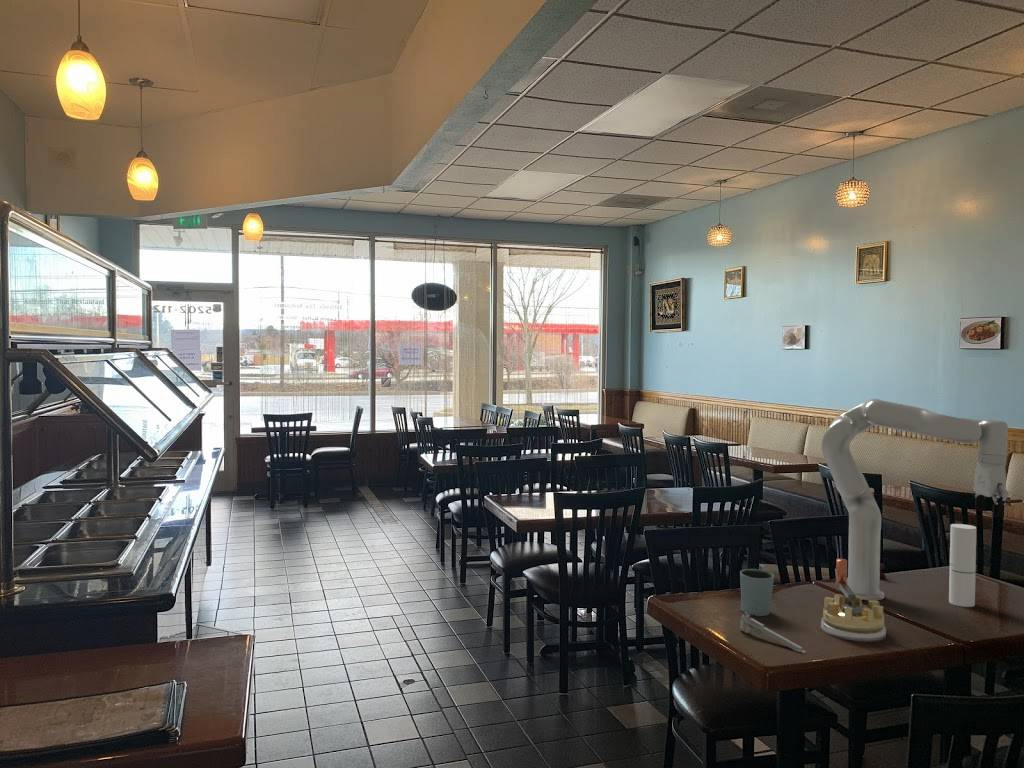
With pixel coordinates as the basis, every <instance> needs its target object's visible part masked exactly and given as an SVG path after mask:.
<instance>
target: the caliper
mask: <svg viewBox="0 0 1024 768" xmlns="http://www.w3.org/2000/svg"><path fill="white" fill-rule="evenodd" d="M750 616H751V615H750V614H747V612H743V614H742V615H741V617H740V620H739V623H740V624H739V628H740V629H739V630H740V632H741V631H743V632H744V631H745V634H746V633H748V634H750V632H751V631H752V630H753V631H754V632H756V633H758V634H759V635H762V634H765V635H766V636H767V637H769V638H772V639H773V640H775V641H777V642H778V643H780V644H782V645H784V646H786V647H787V648H789V649H791V650H792V651H794V652H797V653H801V654H803V655H804V654H806V653H807V652H806V650H804V649H803V647H802V646H800V645H798V644H797V643H794V642H793V641H791V640H789V639H788V638H786V637H784V636H782V635H780V634H778V633H776V632H775V631H773V630H771V629H770V628H768V627H766V626H765V624H763V623H761V622H759V621H758V620H756V619H755V618H752V617H750ZM745 627H746V629H745Z"/></svg>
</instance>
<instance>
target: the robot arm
mask: <svg viewBox="0 0 1024 768" xmlns="http://www.w3.org/2000/svg"><path fill="white" fill-rule="evenodd" d="M875 426H877V427H881V428H887V429H892V430H897V431H900V432H901V431H902V432H905V433H910V434H915V435H919V436H927V437H932V438H938V439H941V440H947V441H951V442H956V443H961V444H965V445H966V444H967V445H971V444H975V443H976V442H978V443H977V444H978V446H977V463H976V467H975V472H974V479H973V480H974V481H973V493H974V497H975V500H974V501H975V502H974V503H975V504H974V510H975V511H977V512H986V511H987V503H988V502H987V501H988V499H987V498H992V500H993V503H992V518H1005V509H1006V508H1005V507H1006V504H1007V500H1008V497H1009V491H1008V490H1007V475H1006V473H1007V472H1006V466H1007V449H1008V426H1009V425H1008V423H1007V422H1005V421H1004V420H1003V421H1002V420H995V419H993V420H991V419H984V420H983V419H981V420H980V419H975V418H966V417H961V418H960V417H957V416H951V415H947V414H946V415H945V414H941V413H938V412H935V411H931V410H929V409H925V408H922V407H917V406H912V405H908V404H907V405H906V404H901V403H897V402H891V401H887V400H883V399H879V398H870V399H868V400H866V401H863V402H862V403H861V404H859V405H857V406H855V407H853V408H851V409H850V410H847V411H846V412H844V413H842V414H840V415H838V416H836V417H834V418H833V420H832V421H831V422H830V425H829V427H828V428H827V429H826V431H825V432H824V433H823V435H822V436H823V437H822V441H821V451H822V455H823V457H824V461H825V462H826V465H827V468H828V470H829V472H830V475H831V477H832V479H833V481H834V484H835V488H836V490H837V491H838V493H839V495H840V496H841V498H842V501H843V503H844V506H845V508H846V509H847V512H848V557H847V558H848V560H847V585H848V586H849V587H850V589H851V590H852V591H853V592H854V594H855V595H858V596H862V601H863V600H864V601H868V600H876V601H881V600H883V599H885V593H884V592H883V591H882V590H880V579H881V578H880V572H881V571H880V563H881V534H882V533H881V530H882V513H881V510H880V507H879V506H878V503H877V501H876V499H875V497H874V494H873V493H872V491H871V489H870V486H869V485H868V482H867V480H866V478H865V476H864V474H863V473H862V471H861V470H860V469H859V468H858V467H859V466H858V465H857V463H856V461H855V459H854V456H853V454H852V451H851V449H850V447H851V442H852V441H853V440H854V439H855V438H856V436H857V435H859V434H860V433H863V432H865V431H867V430H868V429H871V428H872V427H875ZM986 497H987V498H986Z"/></svg>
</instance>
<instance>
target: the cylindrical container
mask: <svg viewBox="0 0 1024 768" xmlns="http://www.w3.org/2000/svg"><path fill="white" fill-rule="evenodd" d="M949 528H950V529H949V530H950V534H949V538H950V539H949V541H950V543H949V546H950V547H949V574H948V575H949V579H948V580H949V583H948V587H949V588H948V602H949V603H950V605H954V606H957V607H963V608H972V607H975V605H976V603H975V602H976V570H977V569H976V561H977V527H976V526H975V525H970V524H963V523H951V524H950V527H949Z"/></svg>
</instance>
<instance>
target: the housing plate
mask: <svg viewBox="0 0 1024 768" xmlns="http://www.w3.org/2000/svg"><path fill="white" fill-rule="evenodd" d="M820 620H821V621H820V628H821V630H822V631H823V632H825V633H826V634H828V635H830V636H833V637H836V638H839V639H842V640H848V641H851V642H852V641H853V642H861V643H862V642H864V643H866V642H867V643H872V642H873V643H874V642H879V641H883V640H884V639H886V636H887V628H886V626H885V625H884V629H883V630H882V631H879V632H874V633H858V632H850V631H845V630H841V629H837V628H834V627H832V626H830V625H828V624H826V623H825V622H824V621H823V617H821V619H820Z"/></svg>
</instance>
